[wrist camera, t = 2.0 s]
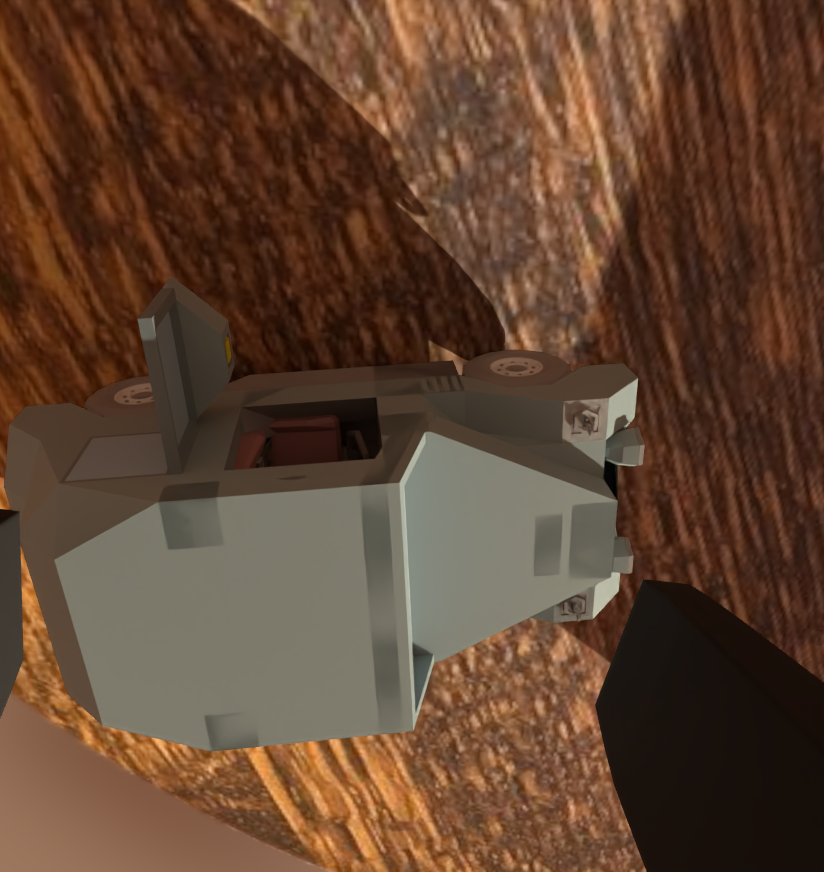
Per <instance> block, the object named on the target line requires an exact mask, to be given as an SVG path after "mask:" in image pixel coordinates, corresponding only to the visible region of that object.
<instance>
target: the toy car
mask: <svg viewBox="0 0 824 872" xmlns="http://www.w3.org/2000/svg"><path fill="white" fill-rule="evenodd" d="M138 324H139V329H140V334H141V339H142V344H143V349H144V354H145V359H146V363H147V368H148V373H149V376H142V377H134V378H130V379H126V380H123V381H119V382H115V383H113V384H111V385H108V386H106V387H104V388H102V389H99V390H98V391H96V392H95V393H94V394H93V395H91V396H90V397H89V398H88V399H86V402H85V406H84V409H83V408H81V407H79V406H77V405H74V404H72V403H61V404H47V405H34V406H26V407H25V408H24V409H23V410H22V411H21V412H20V413H19V414H18V415H17V416H16V417H15V419H14V420H13V421H12V422H11V423H10V424H9V434H8V446H7V457H6V469H5V481H4V488H5V491H6V495H7V498H8V501H9V504H10V507H11V510H14V511H19V512H20V544H21V547H22V550H23V553H24V557H25V560H26V563H27V566H28V569H29V573H30V576H31V579H32V582H33V585H34V589H35V592H36V595H37V598H38V601H39V605H40V608H41V611H42V614H43V617H44V621H45V624H46V627H47V630H48V633H49V637H50V640H51V643H52V646H53V649H54V653H55V656H56V659H57V662H58V665H59V669H60V672H61V675H62V678H63V681H64V685H65V688H66V691H67V694H68V695H69V696H70V697H71V698H73V699H74V700H75V701H76V702H77V703H78V704H79V705H80V706H82V707H83V708H84V709H85V710H86V711H87V712H88V713H89V714H90V715H92V716H93V717H94V718H95V719H96V720H97V721H98V722H99V723H101V724H102V725H103V726H107V727H111V728H115V729H120V730H124V731H128V732H132V733H136V734H141V735H145V736H149V737H153V738H157V739H162V740H166V741H170V742H174V743H178V744H183V745H187V746H191V747H195V748H199V749H204V750H208V751H220V750H230V749H240V748H250V747H260V746H269V745H279V744H289V743H299V742H309V741H319V740H329V739H339V738H349V737H359V736H369V735H379V734H389V733H399V732H408V731H414V727H415V724H416V721H417V717H418V714H419V711H420V707H421V704H422V701H423V697H424V694H425V691H426V687H427V684H428V681H429V677H430V674H431V670H432V667H433V664H434V662H440V661H442V660H444V659H446V658H448V657H450V656H452V655H454V654H456V653H458V652H460V651H462V650H464V649H466V648H468V647H470V646H472V645H474V644H476V643H478V642H480V641H482V640H484V639H486V638H488V637H490V636H493V635H495V634H497V633H499V632H501V631H503V630H505V629H507V628H509V627H511V626H513V625H515V624H517V623H519V622H521V621H523V620H525V619H527V618H533V619H538V620H542V621H547V622H552V623H556V622H567V621H578V622H580V620H589V619H593V618H594V617H595V616H596V615H597V614H598V613H599V612H600V611H601V610H602V609H603V607H604V606H605V605H606V604H607V603H608V602H609V601H610V600H611V599H612V598H613V597H614V596H615V595H616V593H617V592H618V591H619V581H620V573H625V574H629V573H632V566H633V553H632V549H631V546H630V542H629V539H628V538H627V537H617V532H616V515H617V503H618V473H617V465H625V466H637V465H642V464H643V455H644V442H643V439H642V436H641V433H640V430H639V427H633V428H629V429H626V427H627V426H628V425H629V424H630V422H631V421H632V420H633V419H634V417H635V407H636V396H637V385H638V377H637V376H636V375H635V374H634V373H633V372H632V371H631V370H630V369H629V368H628V367H627V366H626V365H625V364H624V363H617V364H603V365H589V366H582V367H580V368H578V369H577V370H575V371H573V372H572V373H571V368H570V365H569V364H567V363H566V362H565V361H563V360H562V359H560V358H558V357H556V356H552V355H549V354H546V353H543V352H536V351H528V350H504V351H497V352H490V353H487V354H484V355H481V356H478V357H475V358H473V359H471V360H470V361H469V362H467V363H466V364H465V365H463V373H462V376H461V375H458V372H457V370H456V367H455V365H454V362H453V361H439V362H425V363H411V364H397V365H383V366H369V367H355V368H340V369H326V370H312V371H298V372H284V373H270V374H256V375H249V376H246V377H243V378H241V379H238V380H236V381H233V382H231V383H228V382H229V381H230V378H231V375H232V372H233V369H234V366H235V362H234V356H233V349H232V342H231V336H230V329H229V322H228V319H226V318H225V317H224V316H222V315H221V314H220V313H219V312H217V311H216V310H215V309H213V308H212V307H211V306H210V305H208V304H207V303H206V302H204V301H203V300H202V299H201V298H199V297H198V296H197V295H195V294H194V293H193V292H192V291H190V290H189V289H188V288H186V287H185V286H184V285H183V284H181V283H180V282H179V281H177V280H176V279H175V278H174V277H172V276H171V277H170V278H169V280H168V281H167V282H166V283H165V285H164V286H163V287H162V289H161V290H160V291H159V292H158V294H157V295H156V296H155V297H154V299H153V300H152V301H151V302H150V304H149V305H148V306H147V307H146V309H145V310H144V311H143V313H142V314H141V315H140V316H139V318H138ZM374 440H378V441H374ZM341 443H347V447H345V446H343V445H342V444H341Z"/></svg>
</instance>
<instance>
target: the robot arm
mask: <svg viewBox="0 0 824 872" xmlns="http://www.w3.org/2000/svg"><path fill="white" fill-rule="evenodd" d="M22 661H23V628H22V589H21V551H20V512H19V511H14V510H5V509H0V718H1V715H2V713H3V710H4V708H5V706H6V703H7V700H8V698H9V695H10V693H11V690H12V687H13V685H14V682H15V680H16V677H17V674H18V672H19V669H20V667H21V664H22ZM595 706H596V711H597V715H598V720H599V724H600V729H601V733H602V738H603V742H604V747H605V751H606V755H607V759H608V763H609V766H610V770H611V774H612V778H613V782H614V785H615V788H616V791H617V794H618V797H619V799H620V802H621V805H622V808H623V810H624V813H625V816H626V818H627V821H628V824H629V826H630V829H631V831H632V834H633V837H634V839H635V842H636V845H637V847H638V850H639V853H640V855H641V858H642V860H643V863H644V866H645V868H646V871H647V872H824V682H822V681H821V680H820V679H818V678H817V677H816V676H814V675H813V674H812V673H810V672H809V671H808V670H807V669H805V668H804V667H803V666H801V665H800V664H799V663H797V662H796V661H795V660H793V659H792V658H791V657H790V656H788V655H787V654H786V653H784V652H783V651H782V650H780V649H779V648H778V647H776V646H775V645H774V644H773V643H771V642H770V641H769V640H767V639H766V638H765V637H763V636H762V635H761V634H759V633H758V632H757V631H755V630H754V629H753V628H751V627H750V626H749V625H748V624H746V623H745V622H743V621H742V620H741V619H739V618H738V617H737V616H735V615H734V614H733V613H731V612H730V611H729V610H727V609H726V608H724V607H723V606H722V605H720V604H719V603H717V602H716V601H714V600H713V599H712V598H710V597H709V596H707V595H706V594H704V593H703V592H701V591H699V590H698V589H696V588H695V587H693V586H691V585H690V584H682V583H673V582H664V581H655V580H646V579H643V581H642V584H641V586H640V589H639V592H638V594H637V597H636V599H635V602H634V605H633V607H632V610H631V613H630V615H629V618H628V620H627V623H626V626H625V628H624V631H623V634H622V636H621V639H620V641H619V644H618V647H617V649H616V652H615V655H614V657H613V660H612V662H611V665H610V668H609V670H608V673H607V676H606V678H605V681H604V683H603V686H602V689H601V691H600V694H599V697H598V699H597V702H596V704H595Z"/></svg>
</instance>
